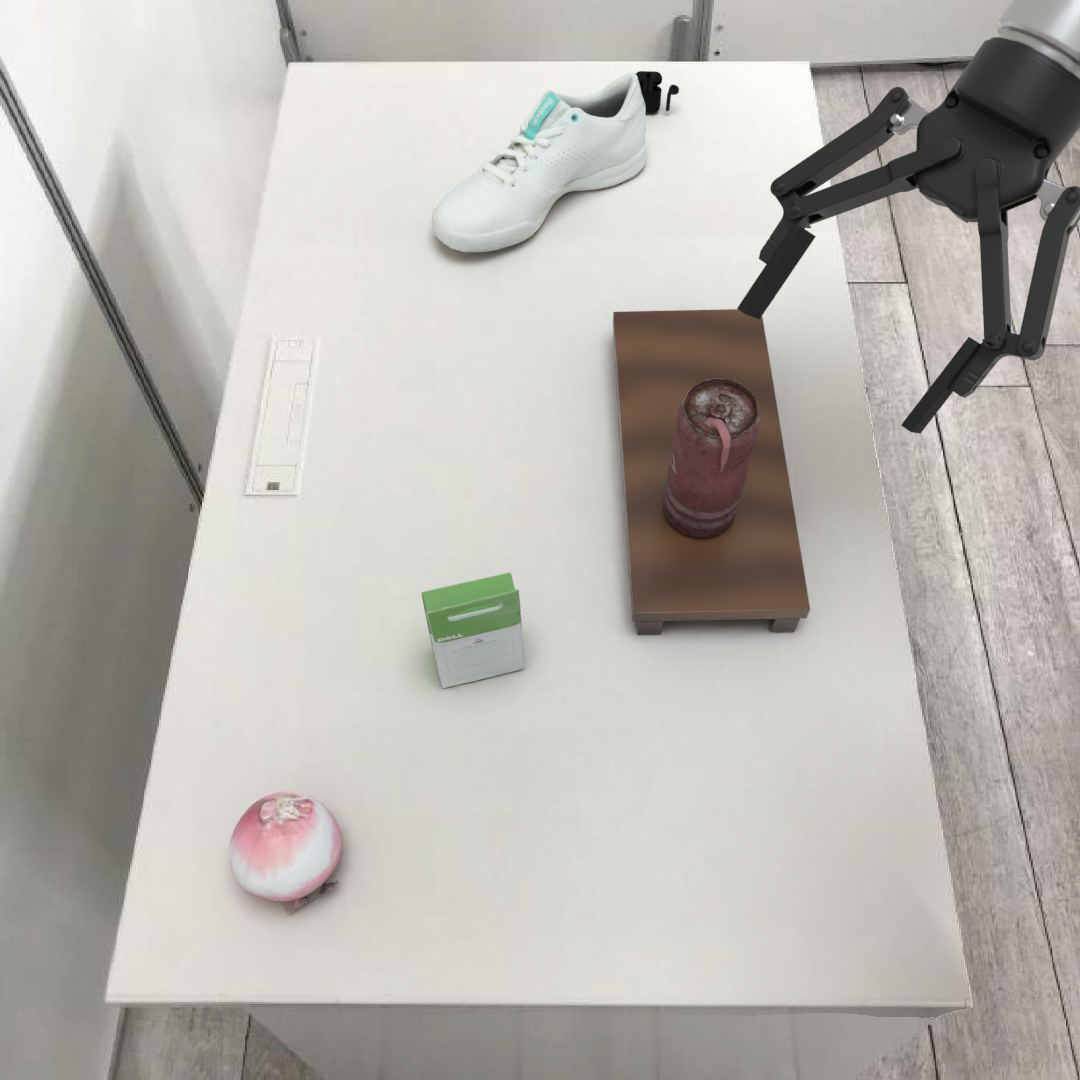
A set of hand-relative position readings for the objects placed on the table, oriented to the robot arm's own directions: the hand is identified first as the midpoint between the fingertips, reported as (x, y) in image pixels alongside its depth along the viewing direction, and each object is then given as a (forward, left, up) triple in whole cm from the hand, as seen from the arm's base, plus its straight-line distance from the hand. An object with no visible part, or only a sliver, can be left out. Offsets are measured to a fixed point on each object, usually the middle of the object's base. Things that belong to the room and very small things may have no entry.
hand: (826, 370), depth 70 cm
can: (0, +6, -21) cm, 22 cm away
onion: (-38, +25, -25) cm, 52 cm away
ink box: (-18, +19, -25) cm, 36 cm away
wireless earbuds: (+52, +29, -25) cm, 65 cm away
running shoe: (+34, +35, -25) cm, 55 cm away
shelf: (+6, +8, -25) cm, 27 cm away
